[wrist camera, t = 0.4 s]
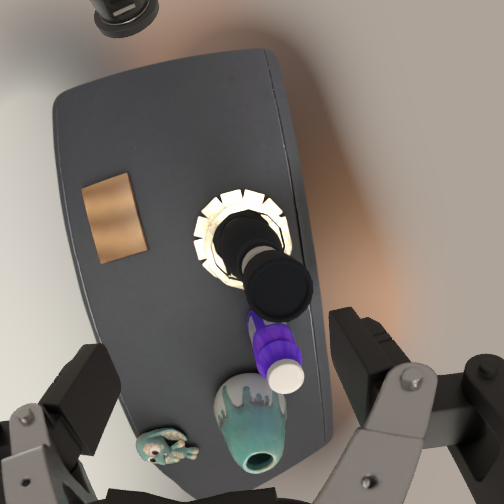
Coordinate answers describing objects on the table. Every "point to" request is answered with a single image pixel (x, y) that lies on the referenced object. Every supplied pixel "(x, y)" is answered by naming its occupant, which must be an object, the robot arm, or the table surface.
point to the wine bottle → (265, 270)
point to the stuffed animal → (164, 446)
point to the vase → (251, 421)
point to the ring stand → (220, 212)
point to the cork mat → (114, 218)
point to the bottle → (276, 354)
